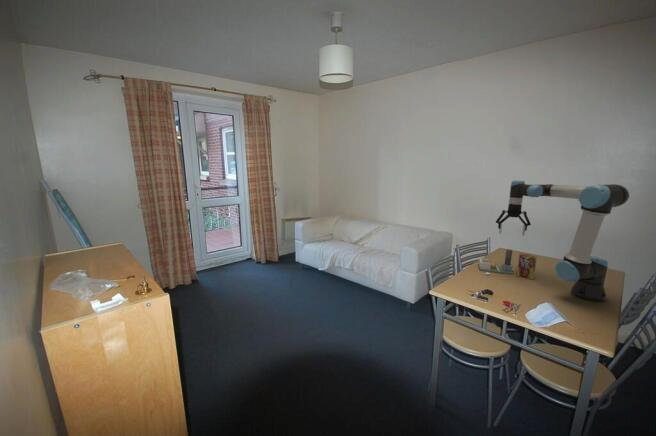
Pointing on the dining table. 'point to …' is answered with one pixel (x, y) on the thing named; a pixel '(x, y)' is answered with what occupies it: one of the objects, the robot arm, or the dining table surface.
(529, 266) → the candy box
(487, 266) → the pitch
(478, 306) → the dining table surface
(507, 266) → the kicker
